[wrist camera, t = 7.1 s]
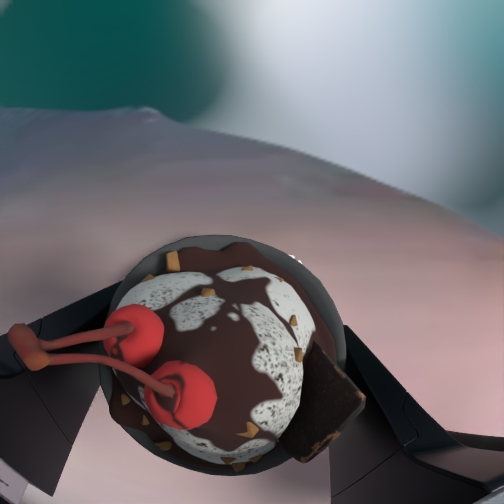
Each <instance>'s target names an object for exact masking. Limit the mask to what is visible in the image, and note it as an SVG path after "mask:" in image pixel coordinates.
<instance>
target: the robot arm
mask: <svg viewBox="0 0 504 504" xmlns="http://www.w3.org/2000/svg"><path fill="white" fill-rule="evenodd" d="M122 282H123V281H120V282H118V283H116V284H113V285H111V286H109V287H107V288H105V289H102V290H100V291H98V292H96V293H94V294H92V295H89V296H87V297H85V298H83V299H81V300H79V301H76V302H74V303H72V304H70V305H68V306H66V307H64V308H62V309H59V310H57V311H55V312H53V313H51V314H49V315H47V316H45V317H43V319H42V318H40V319H38V320H36V321H34V322H32V323H30V324H28V325H27V326H28V327H29V328H30V329H32V331H33V332H34V334H35V335H36V337H37V338H38V339H41V340H44V341H49V340H55V339H59V338H62V337H65V336H69V335H73V334H76V333H81V332H86V331H91V330H97V329H101V328H103V326H104V324H105V321H106V317H107V314H108V311H109V308H110V305H111V301H112V299H113V297H114V295H115V293H116V291H117V289H118V287H119V286H120V285H121V283H122ZM343 329H344V335H345V343H346V368H345V374H346V375H347V376H348V377H349V378H350V379H351V381H352V382H353V383H354V384H355V385H356V386H357V387H358V389H359V390H360V391H361V392H362V393H363V394H364V396H365V397H366V401H365V408H364V409H363V410H362V411H361V412H360V413H359V414H358V415H357V416H356V417H355V418H354V419H353V420H352V421H351V422H350V423H349V424H348V425H347V426H346V428H345V429H344V430H343V431H342V433H341V434H340V435H339V436H338V437H337V438H336V439H335V440H334V441H333V442H332V443H331V444H330V445H329V457H330V482H331V498H332V499H331V504H504V452H499V451H491V450H483V449H476V448H470V447H467V446H465V445H463V444H461V443H459V442H458V441H457V440H455V439H454V438H453V437H452V436H451V435H450V434H449V433H448V432H447V431H446V430H445V429H444V428H443V427H441V426H440V425H439V424H438V423H437V422H436V421H435V420H434V419H433V418H432V417H431V416H430V415H429V414H428V413H427V412H426V411H425V410H424V409H423V408H422V407H421V406H420V405H419V404H418V403H417V402H416V401H415V399H414V398H413V397H412V396H411V395H410V394H409V393H408V392H406V389H405V388H404V387H403V386H402V385H401V384H400V383H399V382H398V380H397V379H396V378H395V377H394V376H393V375H392V374H391V373H390V372H389V370H388V369H387V368H386V367H385V366H384V365H383V364H382V363H381V362H380V361H379V359H378V358H377V357H376V356H375V355H374V354H373V353H372V352H371V351H370V349H369V348H368V347H367V346H366V345H365V344H364V343H363V342H362V341H361V340H360V339H359V337H358V336H357V335H356V334H355V333H354V332H353V331H352V330H351V329H350V328H349V327H348V326H347V325H343ZM7 334H8V333H6V334H4V335H1V336H0V504H20V502H21V499H22V497H23V495H24V492H25V490H26V487H27V485H28V483H30V484H31V485H33V486H35V487H36V488H38V489H40V490H41V491H43V492H45V493H46V494H48V495H50V496H52V497H53V495H54V492H55V490H56V487H57V484H58V481H59V479H60V476H61V474H62V471H63V469H64V466H65V463H66V461H67V459H68V456H69V454H70V451H71V449H72V445H73V444H74V441H75V439H76V437H77V434H78V432H79V430H80V427H81V425H82V423H83V421H84V418H85V416H86V414H87V412H88V410H89V408H90V405H91V403H92V401H93V399H94V397H95V395H96V393H97V391H98V389H99V386H100V377H99V367H98V363H92V362H84V363H70V364H59V365H47V366H45V367H43V368H42V369H40V370H37V371H32V370H30V369H29V368H28V367H27V366H26V365H25V363H24V362H23V361H22V359H21V358H20V356H19V355H18V354H17V352H16V351H15V349H14V348H13V347H12V346H11V344H10V343H9V341H8V335H7ZM98 347H99V341H91V342H83V343H79V344H75V345H71V346H67V347H63V348H59V349H55V350H52V351H49V352H47V353H49V354H69V353H80V354H97V355H98Z"/></svg>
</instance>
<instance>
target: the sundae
mask: <svg viewBox="0 0 504 504" xmlns="http://www.w3.org/2000/svg"><path fill="white" fill-rule="evenodd" d="M7 335H8V341H9V343H10V344H11V346H12V347H13V348H14V349H15V351H16V352H17V354H18V355H19V356H20V358H21V359H22V361H23V362H24V363H25V365H26V366H27V367H28V368H29V369H30V370H32V371H37V370H40V369H42V368H43V367H45V366H47V365H59V364H70V363H84V362H92V363H98V367H99V377H100V385H101V387H102V390H103V393H104V395H105V398H106V400H107V403H108V405H109V412H110V415H111V417H112V419H113V420H114V421H115V422H116V423H118V424H119V425H121V427H122V428H123V429H124V430H125V431H126V432H127V433H128V434H129V435H130V436H131V437H132V438H134V439H135V440H136V441H137V442H138V443H139V444H140V445H142V446H143V447H144V448H146V449H147V450H149V451H150V452H151V453H153V454H154V455H156V456H158V457H160V458H162V459H164V460H167V461H169V462H171V463H173V464H176V465H179V466H181V467H184V468H187V469H190V470H193V471H197V472H201V473H206V474H210V475H222V476H237V475H249V474H256V473H259V472H262V471H265V470H268V469H270V468H273V467H276V466H278V465H280V464H282V463H284V462H285V461H287V460H289V459H291V458H292V457H293V458H295V459H296V460H297V461H299V462H302V463H307V462H309V461H310V460H312V459H313V458H314V457H315V456H317V455H318V454H319V453H320V452H322V451H323V450H324V449H325V448H326V447H328V446H329V445H330V444H331V443H332V442H333V441H334V440H335V439H336V438H337V437H338V436H339V435H340V434H341V433H342V431H343V430H344V429H345V428H346V426H347V425H348V424H349V423H350V422H351V421H352V420H353V419H354V418H355V417H356V416H357V415H358V414H359V413H360V412H361V411H362V410H363V409H364V408H365V401H366V397H365V396H364V394H363V393H362V392H361V391H360V390H359V389H358V387H357V386H356V385H355V384H354V383H353V382H352V381H351V379H350V378H349V377H348V376H347V375H346V374H345V368H346V343H345V335H344V329H343V322H342V320H341V318H340V316H339V313H338V311H337V309H336V306H335V304H334V302H333V300H332V299H331V297H330V295H329V294H328V292H327V291H326V289H325V288H324V286H323V285H322V283H321V281H320V280H319V279H318V278H317V277H315V276H314V275H313V274H312V273H311V272H310V271H309V270H308V269H307V268H306V267H304V266H303V265H302V264H301V263H299V262H298V261H296V260H295V259H294V258H292V257H291V256H289V255H288V254H286V253H284V252H282V251H280V250H278V249H275V248H273V247H271V246H269V245H266V244H263V243H260V242H257V241H254V240H251V239H246V238H241V237H237V236H232V235H204V236H194V237H187V238H184V239H181V240H179V241H176V242H173V243H171V244H168V245H165V246H164V247H162V248H160V249H158V250H157V251H155V252H153V253H151V254H150V255H148V256H146V257H145V258H144V259H143V260H142V261H141V262H140V263H139V264H138V265H137V266H136V267H135V268H134V269H133V270H132V271H131V272H130V273H129V274H128V275H127V276H126V278H125V279H124V280H123V282H122V283H121V285H120V286H119V287H118V289H117V291H116V293H115V295H114V297H113V299H112V301H111V305H110V308H109V311H108V314H107V317H106V321H105V324H104V326H103V328H101V329H97V330H91V331H86V332H81V333H76V334H73V335H69V336H65V337H62V338H59V339H55V340H49V341H44V340H41V339H38V338H37V337H36V335H35V334H34V332H33V331H32V329H30V328H29V327H28V326H27V325H25V324H14V325H13V326H12V327H11V328H10V329H9V331H8V334H7ZM91 341H99V347H98V355H97V354H80V353H69V354H49V353H47V352H49V351H52V350H55V349H59V348H63V347H67V346H71V345H75V344H79V343H83V342H91Z"/></svg>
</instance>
